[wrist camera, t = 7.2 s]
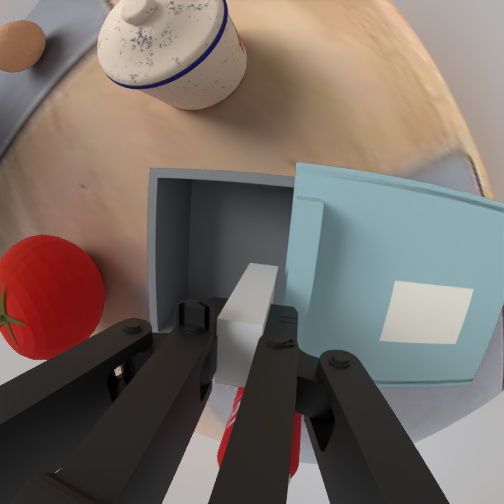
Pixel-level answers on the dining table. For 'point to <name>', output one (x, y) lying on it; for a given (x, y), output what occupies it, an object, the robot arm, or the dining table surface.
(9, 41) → the egg
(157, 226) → the mailer box
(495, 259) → the lid
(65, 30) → the dining table surface
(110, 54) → the teacup with lid
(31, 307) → the tomato
